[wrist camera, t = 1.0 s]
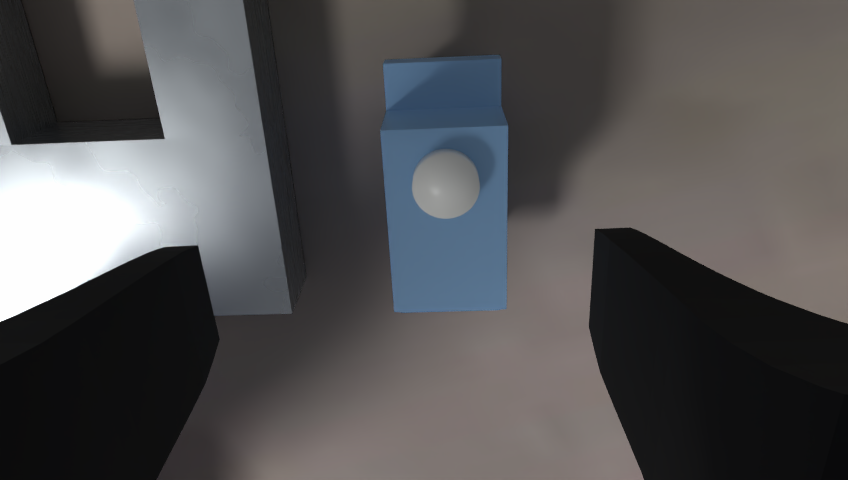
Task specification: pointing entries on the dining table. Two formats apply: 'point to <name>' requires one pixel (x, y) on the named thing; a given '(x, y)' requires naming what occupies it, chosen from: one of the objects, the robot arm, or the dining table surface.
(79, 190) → the plate
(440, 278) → the block
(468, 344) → the dining table surface
